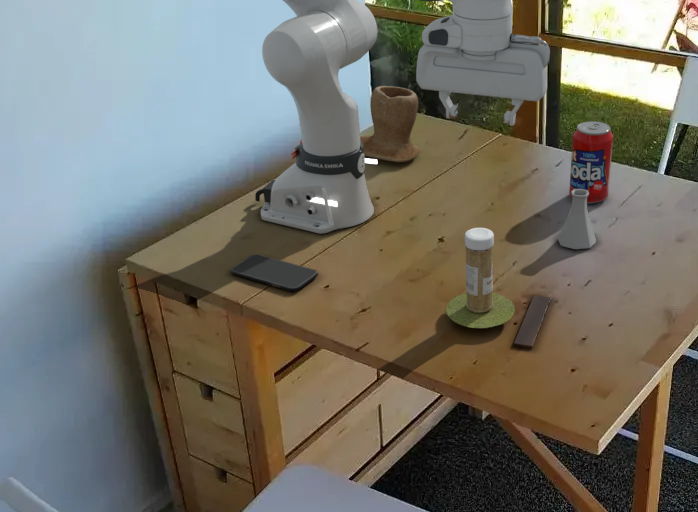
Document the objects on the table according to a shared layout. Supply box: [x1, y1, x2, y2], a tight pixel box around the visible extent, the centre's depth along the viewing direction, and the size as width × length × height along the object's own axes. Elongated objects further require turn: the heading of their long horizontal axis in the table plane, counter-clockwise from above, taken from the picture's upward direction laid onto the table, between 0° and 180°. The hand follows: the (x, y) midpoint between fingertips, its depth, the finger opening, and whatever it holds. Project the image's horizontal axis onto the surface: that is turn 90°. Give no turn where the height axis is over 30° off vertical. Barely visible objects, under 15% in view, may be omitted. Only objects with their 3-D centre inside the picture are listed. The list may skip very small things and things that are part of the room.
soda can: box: [568, 120, 614, 205], centre depth 186 cm, size 8×8×15 cm
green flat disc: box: [445, 291, 516, 329], centre depth 154 cm, size 11×11×2 cm
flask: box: [557, 189, 597, 250], centre depth 172 cm, size 7×7×10 cm
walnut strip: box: [513, 295, 552, 350], centre depth 153 cm, size 3×15×1 cm, turn 164°
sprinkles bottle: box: [464, 227, 495, 313], centre depth 150 cm, size 5×5×13 cm
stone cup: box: [360, 85, 420, 164], centre depth 205 cm, size 15×12×15 cm
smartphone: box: [230, 253, 319, 292], centre depth 167 cm, size 7×1×15 cm
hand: (480, 120), depth 148 cm, fingers open, 8 cm apart
